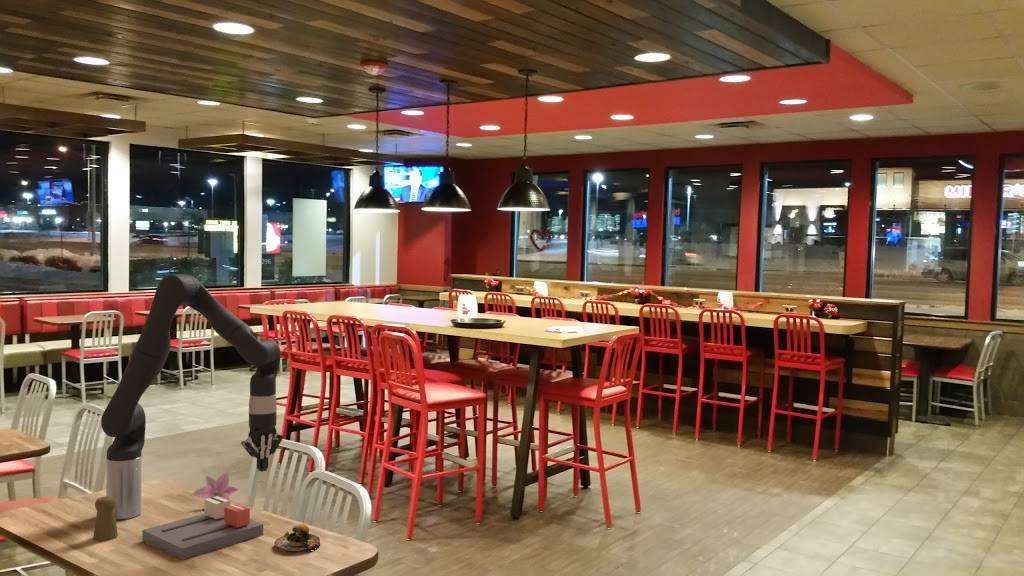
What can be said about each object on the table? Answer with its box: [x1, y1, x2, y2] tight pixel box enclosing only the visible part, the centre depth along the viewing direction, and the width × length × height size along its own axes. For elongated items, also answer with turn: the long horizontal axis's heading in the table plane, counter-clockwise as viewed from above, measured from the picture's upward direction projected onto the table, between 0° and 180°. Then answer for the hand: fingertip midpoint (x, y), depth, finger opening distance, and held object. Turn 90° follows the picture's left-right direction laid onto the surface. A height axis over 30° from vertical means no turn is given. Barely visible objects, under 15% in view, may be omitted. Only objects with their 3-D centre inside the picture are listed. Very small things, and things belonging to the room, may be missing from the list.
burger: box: [273, 517, 321, 552], centre depth 212 cm, size 12×12×8 cm
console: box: [141, 513, 264, 561], centre depth 217 cm, size 20×24×3 cm
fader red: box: [224, 503, 251, 528], centre depth 219 cm, size 6×4×5 cm, turn 53°
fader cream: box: [203, 496, 229, 519], centre depth 225 cm, size 6×4×5 cm, turn 53°
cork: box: [92, 496, 119, 542], centre depth 215 cm, size 6×6×11 cm
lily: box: [192, 471, 239, 506], centre depth 243 cm, size 12×12×10 cm
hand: (262, 470), depth 225 cm, fingers closed
